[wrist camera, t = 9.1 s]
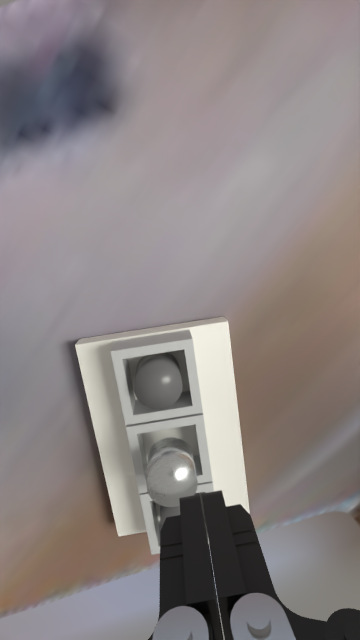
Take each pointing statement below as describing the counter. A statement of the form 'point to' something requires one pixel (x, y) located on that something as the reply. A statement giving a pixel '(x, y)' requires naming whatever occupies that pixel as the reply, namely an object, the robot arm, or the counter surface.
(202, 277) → the counter surface
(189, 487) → the steel knob
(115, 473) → the panel
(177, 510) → the charcoal knob
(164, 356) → the charcoal knob
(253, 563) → the robot arm
